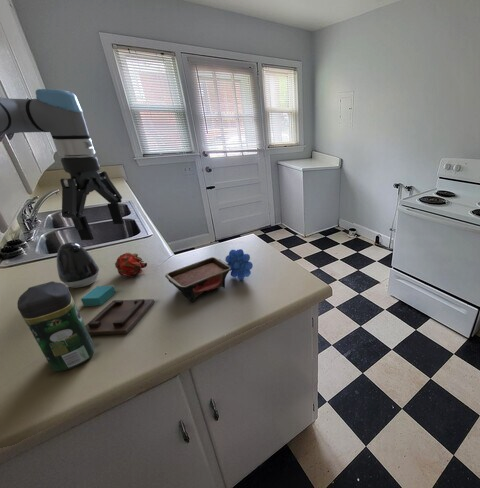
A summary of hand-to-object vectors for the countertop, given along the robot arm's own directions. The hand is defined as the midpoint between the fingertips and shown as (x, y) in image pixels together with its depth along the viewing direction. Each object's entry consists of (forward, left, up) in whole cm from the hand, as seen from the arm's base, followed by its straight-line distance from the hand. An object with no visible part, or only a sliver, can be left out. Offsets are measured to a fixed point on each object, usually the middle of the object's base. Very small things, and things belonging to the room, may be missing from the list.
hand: (104, 231), depth 80 cm
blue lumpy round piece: (+37, +6, -22) cm, 43 cm away
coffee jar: (+5, -28, -22) cm, 36 cm away
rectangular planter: (+25, 0, -22) cm, 33 cm away
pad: (-5, -4, -21) cm, 22 cm away
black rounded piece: (-17, +6, -21) cm, 28 cm away
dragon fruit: (-4, +12, -21) cm, 25 cm away
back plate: (+7, -14, -21) cm, 26 cm away
